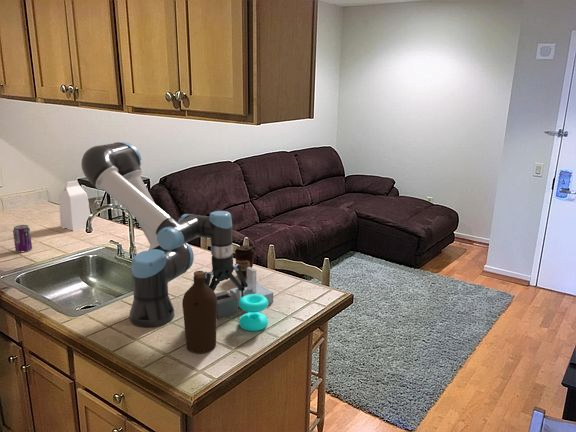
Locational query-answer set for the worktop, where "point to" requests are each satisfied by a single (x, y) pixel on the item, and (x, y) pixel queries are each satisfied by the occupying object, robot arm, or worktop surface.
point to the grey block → (226, 305)
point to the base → (259, 290)
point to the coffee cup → (244, 258)
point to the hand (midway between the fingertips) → (224, 311)
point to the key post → (251, 280)
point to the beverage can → (22, 238)
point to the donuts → (253, 312)
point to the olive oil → (200, 316)
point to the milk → (73, 206)
